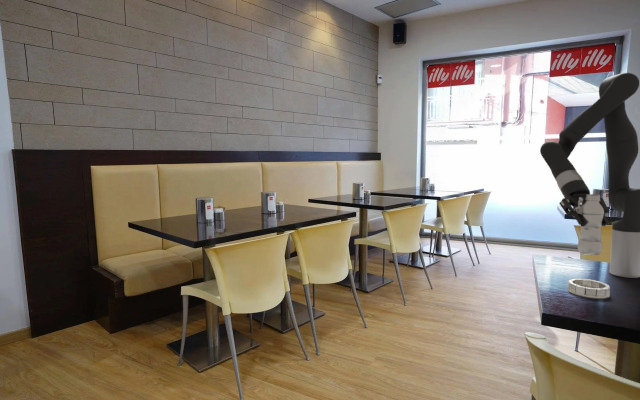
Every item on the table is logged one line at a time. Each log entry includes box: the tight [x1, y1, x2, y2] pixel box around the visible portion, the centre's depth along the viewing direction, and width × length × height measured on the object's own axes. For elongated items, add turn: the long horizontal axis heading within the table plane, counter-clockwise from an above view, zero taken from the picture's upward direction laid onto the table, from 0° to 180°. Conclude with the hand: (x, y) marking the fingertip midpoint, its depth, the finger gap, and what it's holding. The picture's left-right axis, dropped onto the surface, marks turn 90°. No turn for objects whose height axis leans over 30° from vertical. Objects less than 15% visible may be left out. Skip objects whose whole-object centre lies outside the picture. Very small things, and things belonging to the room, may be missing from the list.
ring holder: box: [567, 278, 611, 300], centre depth 125 cm, size 11×11×3 cm
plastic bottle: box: [577, 193, 604, 256], centre depth 124 cm, size 6×7×20 cm
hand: (594, 224), depth 122 cm, fingers closed on plastic bottle, 6 cm apart
